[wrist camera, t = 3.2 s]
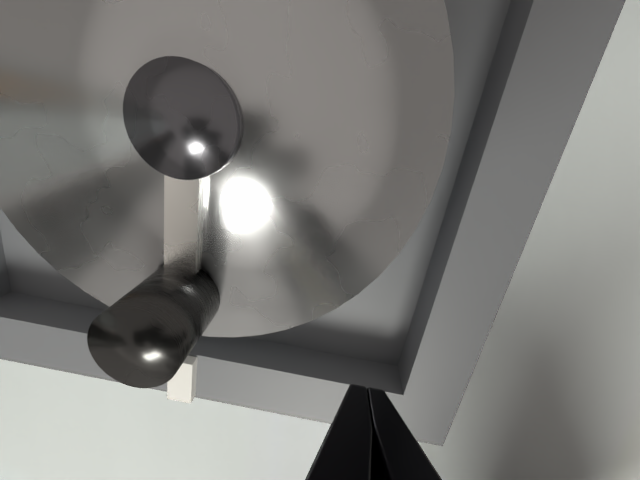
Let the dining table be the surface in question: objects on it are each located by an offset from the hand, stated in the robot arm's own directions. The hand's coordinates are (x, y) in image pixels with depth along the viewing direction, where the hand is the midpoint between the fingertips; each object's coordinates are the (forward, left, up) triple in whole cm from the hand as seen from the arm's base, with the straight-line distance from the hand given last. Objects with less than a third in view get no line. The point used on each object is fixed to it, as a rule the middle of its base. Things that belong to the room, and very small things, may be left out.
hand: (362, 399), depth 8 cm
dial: (+6, -6, -4) cm, 9 cm away
